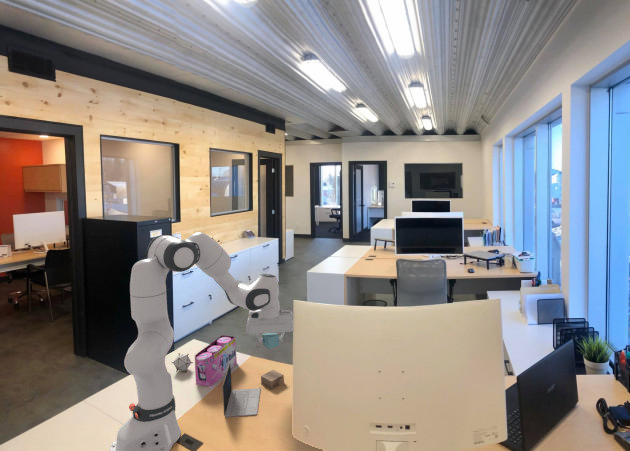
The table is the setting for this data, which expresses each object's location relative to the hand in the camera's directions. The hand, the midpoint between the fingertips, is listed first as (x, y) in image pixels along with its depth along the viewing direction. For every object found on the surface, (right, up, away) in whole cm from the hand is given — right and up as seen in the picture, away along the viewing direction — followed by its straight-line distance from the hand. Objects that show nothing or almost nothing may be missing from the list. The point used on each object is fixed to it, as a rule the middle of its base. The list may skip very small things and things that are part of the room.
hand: (270, 341), depth 165 cm
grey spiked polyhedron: (-43, -19, +16) cm, 50 cm away
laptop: (-10, -22, -11) cm, 26 cm away
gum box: (-26, -19, +13) cm, 35 cm away
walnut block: (0, -19, +3) cm, 19 cm away
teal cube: (0, -2, 0) cm, 2 cm away
